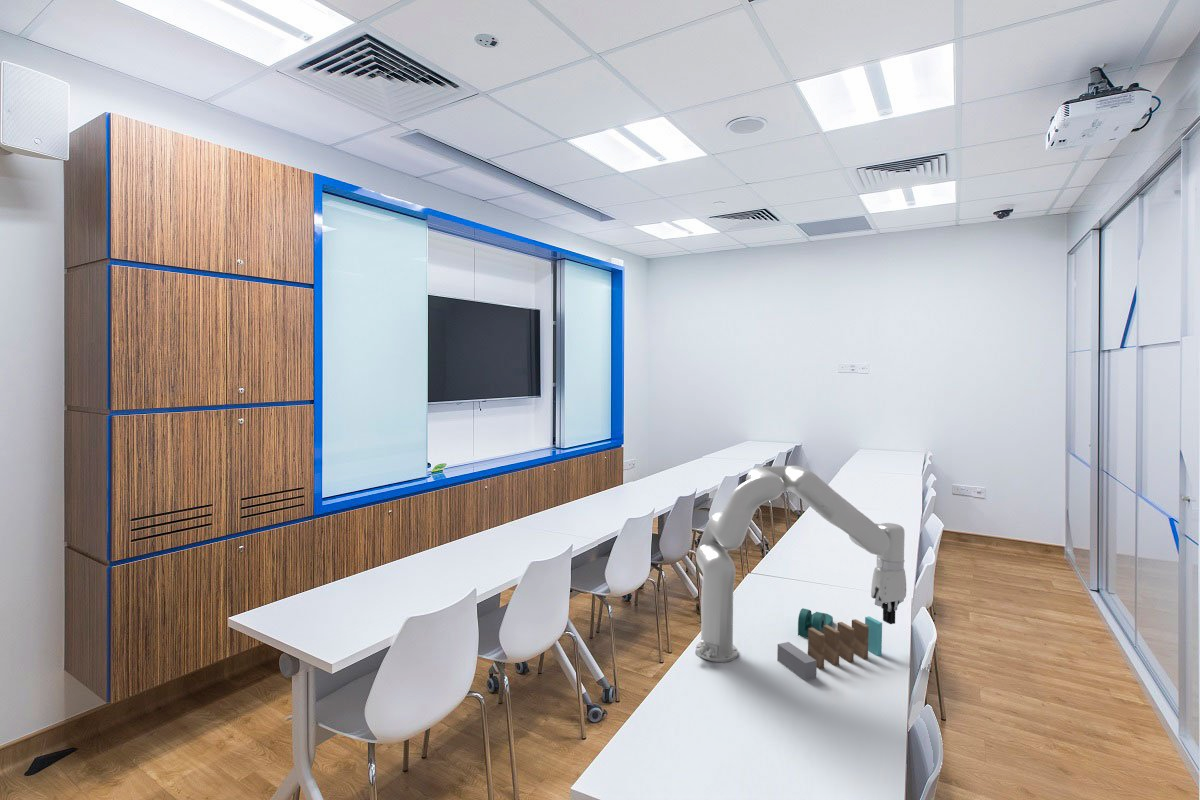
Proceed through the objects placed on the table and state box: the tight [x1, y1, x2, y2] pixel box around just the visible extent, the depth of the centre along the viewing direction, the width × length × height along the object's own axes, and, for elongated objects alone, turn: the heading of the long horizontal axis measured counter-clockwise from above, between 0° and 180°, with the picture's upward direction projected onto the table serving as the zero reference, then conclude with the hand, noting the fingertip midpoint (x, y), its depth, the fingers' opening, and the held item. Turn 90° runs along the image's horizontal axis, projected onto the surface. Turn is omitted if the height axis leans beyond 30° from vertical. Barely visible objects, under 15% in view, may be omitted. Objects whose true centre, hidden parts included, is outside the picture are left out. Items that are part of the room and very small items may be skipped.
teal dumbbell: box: [797, 607, 834, 639], centre depth 193 cm, size 18×7×8 cm, turn 142°
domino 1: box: [807, 628, 825, 670], centre depth 169 cm, size 2×5×10 cm, turn 20°
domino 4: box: [851, 619, 869, 660], centre depth 175 cm, size 2×5×10 cm, turn 21°
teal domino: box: [864, 616, 883, 657], centre depth 177 cm, size 2×5×10 cm, turn 21°
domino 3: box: [836, 621, 855, 663], centre depth 173 cm, size 2×5×10 cm, turn 20°
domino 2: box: [823, 625, 840, 667], centre depth 171 cm, size 2×5×10 cm, turn 20°
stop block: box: [776, 641, 818, 681], centre depth 167 cm, size 4×12×5 cm, turn 20°
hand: (888, 622), depth 179 cm, fingers closed
